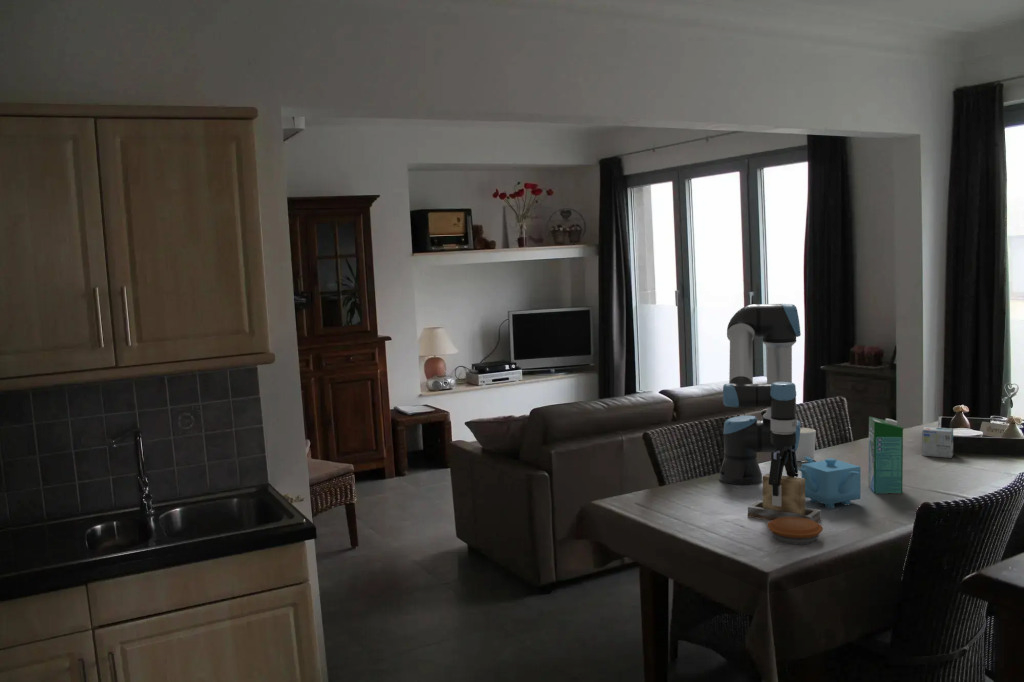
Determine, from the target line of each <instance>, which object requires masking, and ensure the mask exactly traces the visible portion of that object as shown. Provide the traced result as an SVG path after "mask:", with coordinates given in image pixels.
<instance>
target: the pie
mask: <svg viewBox="0 0 1024 682" xmlns="http://www.w3.org/2000/svg"><path fill="white" fill-rule="evenodd" d="M767 529H768V530H769V531H770V532H771V534H772V535H773V537H774V538H775V539H776V540H777V541H778V542H781V543H785V544H790V545H791V544H792V545H807V544H808V543H809V544H811V543H814V542H815V541H816V540H817V538H818V537H819V536H820V534H821V533H822V531H823V529H824V527H823V526H822V525H821V524H820V523H818V522H817V523H816V522H814V521H813V520H810V519H806V518H801V517H781V518H777V519H775V520H772V521H771V520H769V521H768V522H767ZM809 544H808V545H809Z"/></svg>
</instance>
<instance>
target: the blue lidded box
mask: <svg viewBox="0 0 1024 682" xmlns="http://www.w3.org/2000/svg"><path fill="white" fill-rule="evenodd" d="M804 458H805V459H806V460H807V462H805V463H802V464H801V466H800V468H798V472H801V477H800V478H804V479H805V498H807V499H810V500H809V502H810V501H811V502H810V503H814V502H817V503H821V504H824V507H825V508H826V507H828V508H827V509H834V508H835V504H839V503H843V504H842V505H844V504H847V505H846V506H849V505H848V504H851V503H852V501H856V500H861V493H862V492H861V489H862V488H861V484H862V483H861V481H862V479H861V478H862V477H861V475H862V474H861V471H862V470H861V468H862V467H861V466H859V465H855V464H852V463H848V462H846V461H842V460H838V459H835V458H830V457H829V458H828V457H827V458H825V460H820V461H813V460H812V458H810V457H804ZM833 507H834V508H833Z"/></svg>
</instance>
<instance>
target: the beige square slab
mask: <svg viewBox="0 0 1024 682" xmlns="http://www.w3.org/2000/svg"><path fill="white" fill-rule="evenodd" d="M769 475H770V473H765V474H764V475H762V501H763V508H766V509H772V510H778V511H784V512H790V513H796V514H802V515H805V508H806V497H805V479H804V478H801V477H790V476H787V475H782V477H781V482H780V485H781V507H780V506H774V505H772V485H769Z"/></svg>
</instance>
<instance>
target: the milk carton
mask: <svg viewBox="0 0 1024 682" xmlns="http://www.w3.org/2000/svg"><path fill="white" fill-rule="evenodd" d="M898 423H899V422H898V421H897V420H894V419H892V418H885V419H880V418H877V417H873V416H868V487H869V488H870V489H872V490H873V491H872V490H871V491H872V492H873V494H888V493H901V495H902V494H903V476H904V475H903V466H904V465H903V463H904V462H903V460H904V459H903V458H904V452H903V451H904V448H903V447H904V428H903V427H902V426H901V425H899V424H898Z"/></svg>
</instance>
